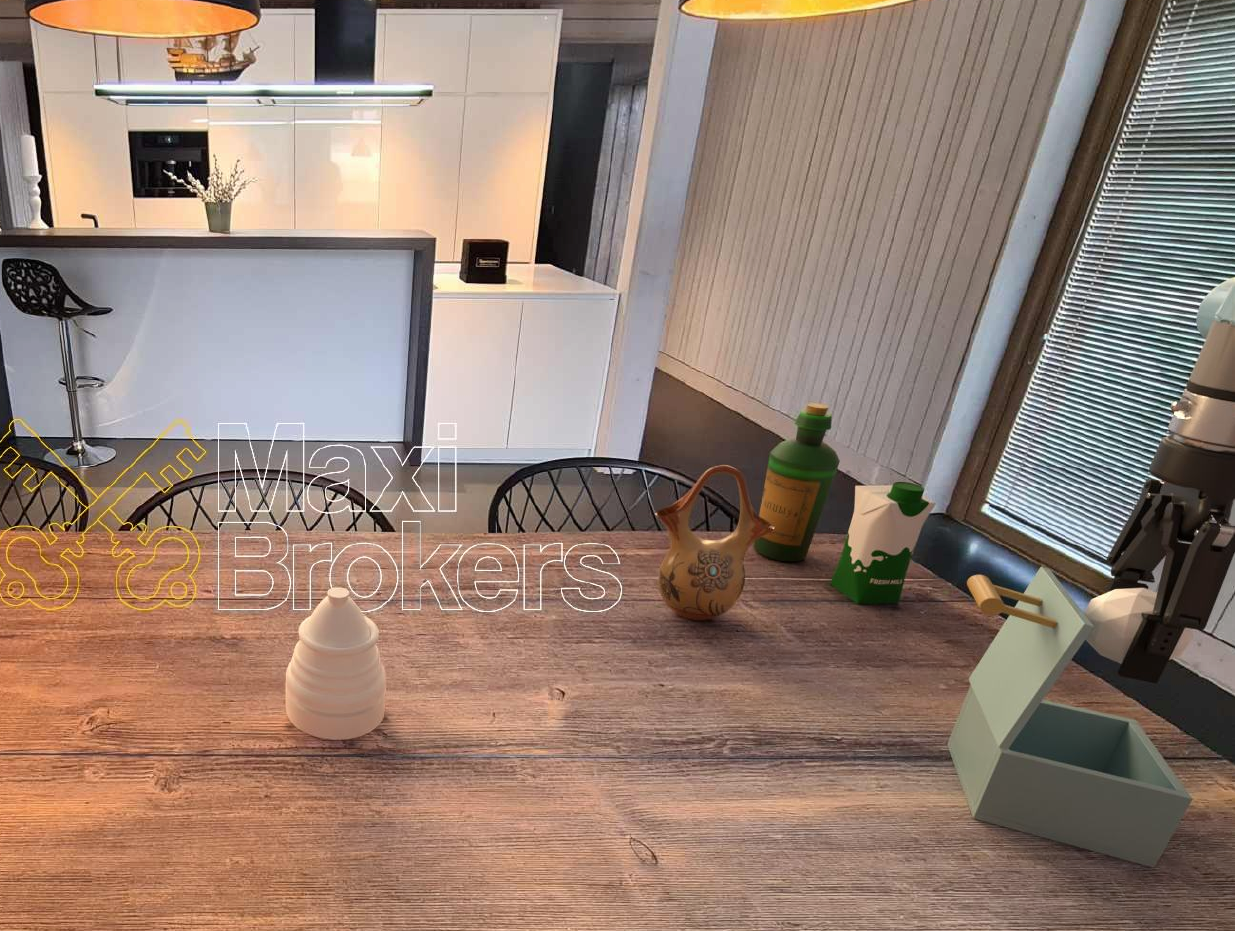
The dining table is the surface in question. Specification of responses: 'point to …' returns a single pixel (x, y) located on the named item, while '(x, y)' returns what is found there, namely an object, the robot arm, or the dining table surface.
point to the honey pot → (336, 672)
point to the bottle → (797, 487)
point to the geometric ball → (1123, 622)
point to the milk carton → (881, 542)
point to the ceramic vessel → (706, 555)
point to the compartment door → (1024, 649)
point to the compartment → (1071, 780)
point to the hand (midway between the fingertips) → (1120, 656)
